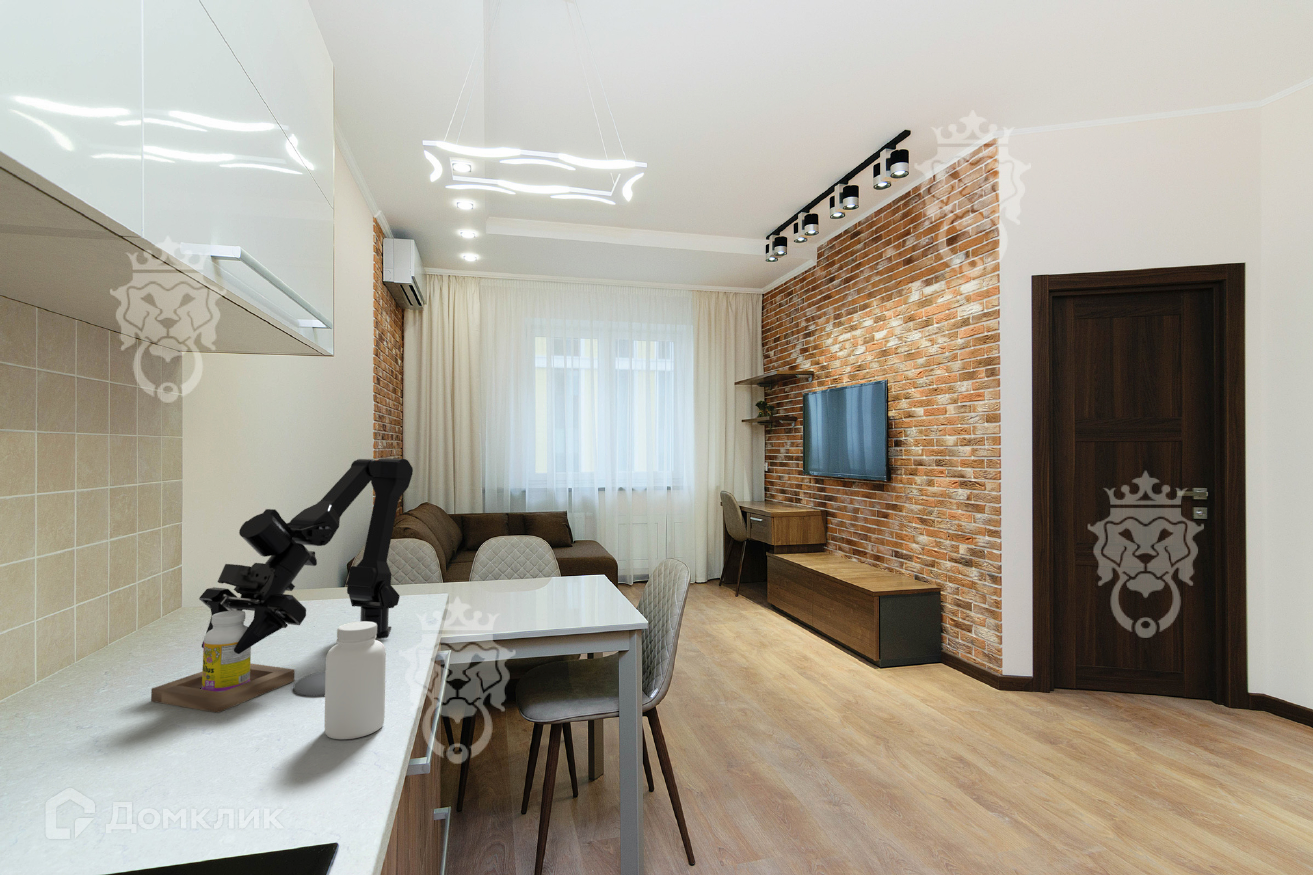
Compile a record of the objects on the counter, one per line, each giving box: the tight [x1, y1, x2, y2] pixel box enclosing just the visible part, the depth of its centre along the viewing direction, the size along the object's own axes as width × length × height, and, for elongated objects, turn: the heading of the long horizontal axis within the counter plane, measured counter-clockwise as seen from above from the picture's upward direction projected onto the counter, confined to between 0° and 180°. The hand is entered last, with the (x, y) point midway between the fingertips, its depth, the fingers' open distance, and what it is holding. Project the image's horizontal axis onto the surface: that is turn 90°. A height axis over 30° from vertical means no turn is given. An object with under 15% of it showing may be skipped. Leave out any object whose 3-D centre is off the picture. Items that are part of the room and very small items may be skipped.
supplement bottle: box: [201, 610, 252, 692], centre depth 103 cm, size 7×7×13 cm
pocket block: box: [150, 662, 296, 713], centre depth 103 cm, size 14×14×2 cm
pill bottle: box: [323, 621, 387, 740], centre depth 90 cm, size 8×8×15 cm
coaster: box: [293, 670, 326, 697], centre depth 107 cm, size 11×11×1 cm
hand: (219, 650), depth 102 cm, fingers closed on supplement bottle, 7 cm apart
